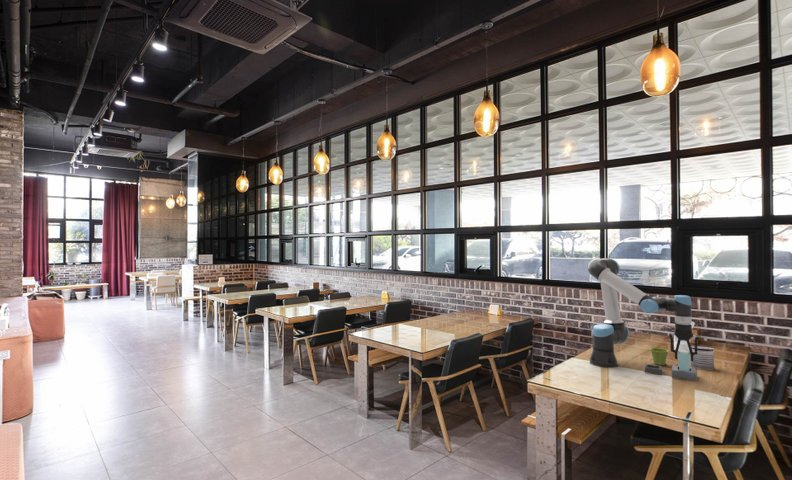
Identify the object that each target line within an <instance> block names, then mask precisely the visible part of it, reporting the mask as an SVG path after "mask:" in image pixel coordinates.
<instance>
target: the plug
mask: <svg viewBox="0 0 792 480" xmlns="http://www.w3.org/2000/svg"><path fill="white" fill-rule="evenodd" d="M678 353H679V370H686V371H689V354H690V352H688V351H684V350H680V351H679V352H678Z"/></svg>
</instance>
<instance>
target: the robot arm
mask: <svg viewBox="0 0 792 480" xmlns="http://www.w3.org/2000/svg"><path fill="white" fill-rule="evenodd" d="M620 269H621V268H620V265H619V263H618V262H617V260H616V259H613V258H611V257H610V258H609V257H605V258H603V257H602V258H594V259H592V260H590V261H589V262H588V265H587V271H588V273H589V275H591V277H592V278H594V279H595V280H597V281H598V282H600V288H601V294H602V295H601V297H602V302H603V303H602V304H603V309H604V316H605V320H603V323H599V324H595V325H594V326H592V331H591V333H592V351H591V355H590V357H589V364H592V365H593V366H597V367H603V368H615V367H617V366H618V359H617V357H616V353H615V346H614V345H619V344H620V345H621V344H623V343H625V342H627V341H628V339H629V337H630V330H629V328H628V327H627V326H626V324H625V321H624V320H623V319H622V317H621V310H620V304H619V297H618V296H619V295H618V293H620V294H621V295H622V296H624V297H626V298H627V299H629V300H630V301H632V302H633V303H634V304H637V306H639V307H640V309H641V311H642V312H643V313H646V314H654V313H658V312H659V313H660V312H673V313H674V322H675V323H674V332H672V333H669V334H668V337H669V339H670V352H671V353H673V354H674V359H675V360H677V366H679V352H678V349H679V345H680V342H681V341H682V340H684V341H687V344H688V347H689V351H690V352H689V367H690V368H692V366H691V361H693V355H697V346H698V340H699V335H695V334H693V332H692V331H693V328H692V327H693V325H692V323H693V322H692V321H693V320H692V319H693V318H692V299H691V296H689V295H684V294H678V295H677V294H676V295H674V296H673V297H674V298H671V297H662V296H653V297H652V296H650V295H648V294H647V293H645V292H644V291H642V290H641V289H639V288H638V287H636V286H634V285H633V284H631V283H630V282H628V281H627V280H625V279H624V278H622V277H620V276H619V275H618V274H619V272H620ZM674 335H675V336H676V337H677V338H678V342H677V345H676V349H675V350H674ZM692 338H693V341H694V345H693V346H694V347H695V352H693V351H692V348H691V346H692V344H691V339H692ZM689 340H690V341H689Z"/></svg>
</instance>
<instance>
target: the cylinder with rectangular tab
mask: <svg viewBox="0 0 792 480" xmlns="http://www.w3.org/2000/svg"><path fill="white" fill-rule="evenodd" d="M689 341H690V342H691V339H690V340H689ZM677 342H678V338H677V337H676V336H675V335H674V337H673V346H674V350H675V349H676V345H677ZM680 350H684V351H688V352H689V353H690V351H689V347H688V344H687V341H684V340H682V341H681V342H680V345H679V349H678V351H680Z"/></svg>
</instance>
